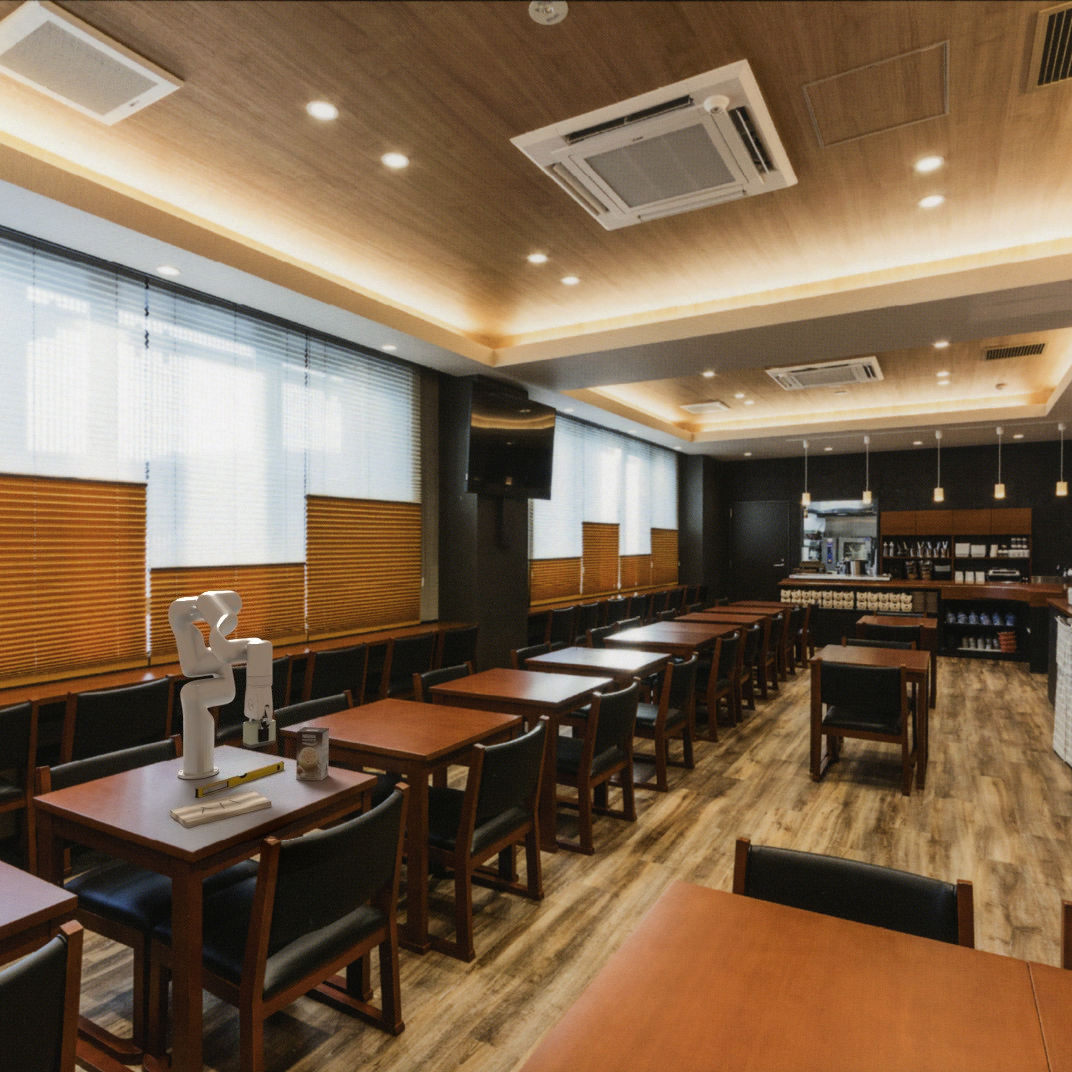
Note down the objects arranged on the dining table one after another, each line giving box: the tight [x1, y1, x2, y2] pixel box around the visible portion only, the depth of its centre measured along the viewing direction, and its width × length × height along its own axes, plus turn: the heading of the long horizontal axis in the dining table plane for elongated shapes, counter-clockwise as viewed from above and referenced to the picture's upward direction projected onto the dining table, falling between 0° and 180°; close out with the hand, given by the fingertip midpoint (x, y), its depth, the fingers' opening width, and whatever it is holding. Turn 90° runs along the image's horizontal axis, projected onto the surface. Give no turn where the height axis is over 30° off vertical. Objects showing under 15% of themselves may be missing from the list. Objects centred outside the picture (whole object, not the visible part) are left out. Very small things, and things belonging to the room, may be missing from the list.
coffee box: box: [295, 726, 330, 781], centre depth 246 cm, size 9×6×16 cm
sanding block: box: [242, 719, 277, 749], centre depth 227 cm, size 5×8×7 cm, turn 136°
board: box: [170, 790, 272, 829], centre depth 215 cm, size 13×24×2 cm, turn 134°
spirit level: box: [194, 760, 285, 799], centre depth 240 cm, size 33×1×3 cm, turn 151°
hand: (259, 739), depth 227 cm, fingers closed on sanding block, 5 cm apart
